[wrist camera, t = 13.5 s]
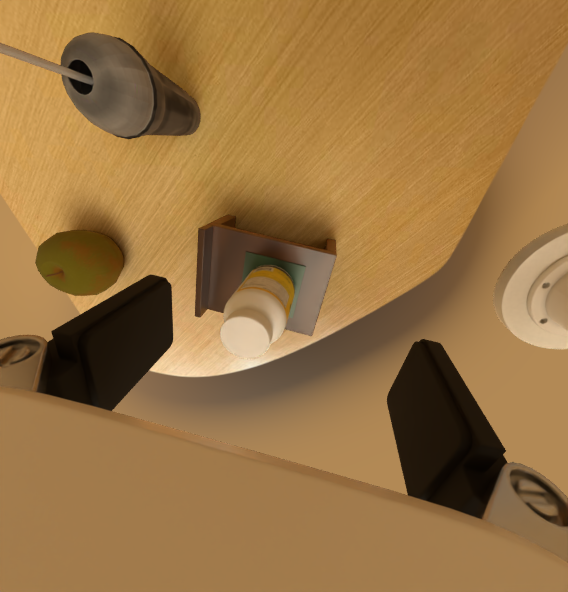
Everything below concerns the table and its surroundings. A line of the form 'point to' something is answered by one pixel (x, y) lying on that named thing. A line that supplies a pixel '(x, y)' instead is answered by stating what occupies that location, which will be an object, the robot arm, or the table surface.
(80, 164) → the table surface
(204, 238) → the shelf
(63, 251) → the apple
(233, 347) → the pill bottle
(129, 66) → the beverage cup
